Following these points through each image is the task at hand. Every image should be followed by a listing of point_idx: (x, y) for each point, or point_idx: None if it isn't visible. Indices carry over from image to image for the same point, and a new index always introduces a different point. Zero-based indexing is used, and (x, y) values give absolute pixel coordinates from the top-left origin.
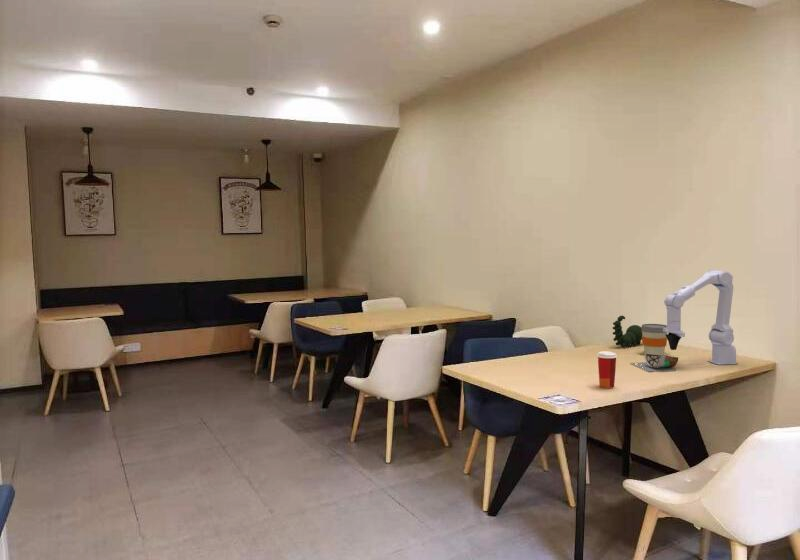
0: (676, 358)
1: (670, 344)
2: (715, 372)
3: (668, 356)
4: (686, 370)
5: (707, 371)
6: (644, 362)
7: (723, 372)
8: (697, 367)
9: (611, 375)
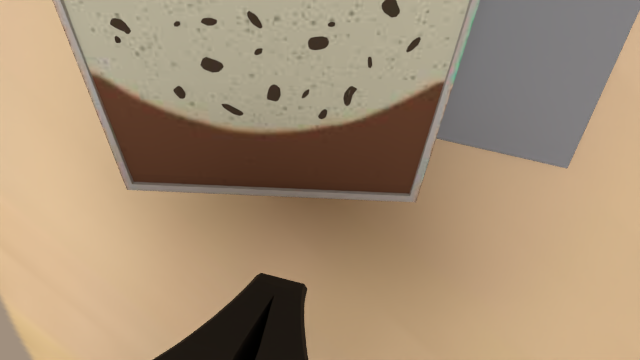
0: (123, 152)
1: (251, 328)
2: (50, 312)
3: (60, 5)
4: None
5: (86, 291)
6: (630, 8)
7: (44, 353)
8: None
9: None
